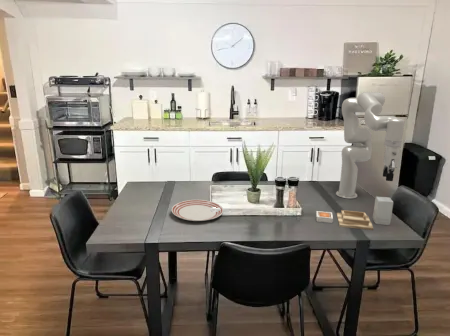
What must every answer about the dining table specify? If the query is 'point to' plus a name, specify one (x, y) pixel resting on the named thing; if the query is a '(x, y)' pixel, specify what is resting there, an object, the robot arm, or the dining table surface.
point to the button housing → (324, 219)
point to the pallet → (354, 220)
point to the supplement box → (382, 210)
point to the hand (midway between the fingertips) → (387, 178)
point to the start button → (324, 214)
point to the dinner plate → (196, 210)
